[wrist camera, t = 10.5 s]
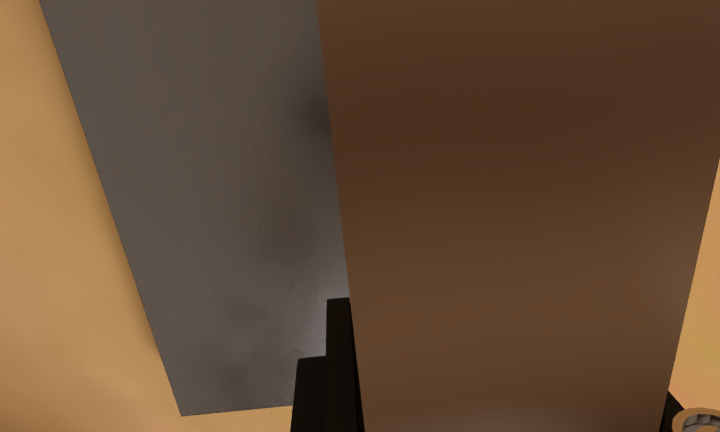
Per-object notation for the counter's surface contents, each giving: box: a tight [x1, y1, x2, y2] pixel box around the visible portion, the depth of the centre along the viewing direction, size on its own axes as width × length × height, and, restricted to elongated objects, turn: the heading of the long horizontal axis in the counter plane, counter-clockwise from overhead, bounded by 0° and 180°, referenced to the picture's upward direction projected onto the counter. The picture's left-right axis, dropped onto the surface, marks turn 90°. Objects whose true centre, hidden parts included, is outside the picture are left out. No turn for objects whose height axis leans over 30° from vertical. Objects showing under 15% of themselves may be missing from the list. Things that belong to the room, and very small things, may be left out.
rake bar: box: [316, 0, 720, 432], centre depth 10 cm, size 22×4×6 cm, turn 5°
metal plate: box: [39, 0, 350, 416], centre depth 20 cm, size 22×10×2 cm, turn 5°
